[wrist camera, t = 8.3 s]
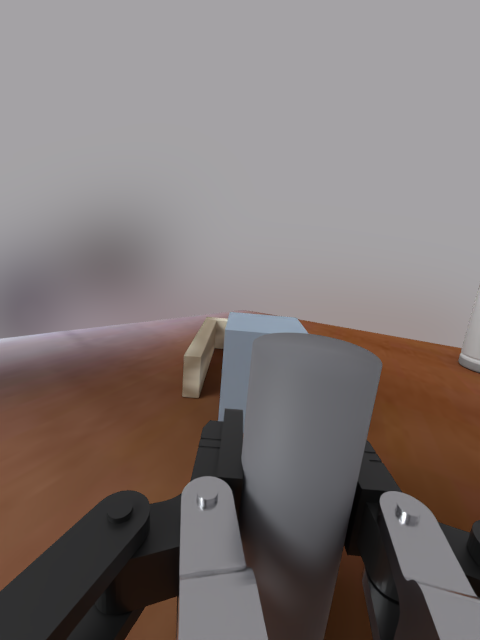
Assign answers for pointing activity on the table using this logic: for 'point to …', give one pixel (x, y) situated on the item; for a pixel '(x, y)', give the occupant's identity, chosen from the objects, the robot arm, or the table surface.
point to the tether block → (296, 460)
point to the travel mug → (472, 340)
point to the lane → (202, 355)
